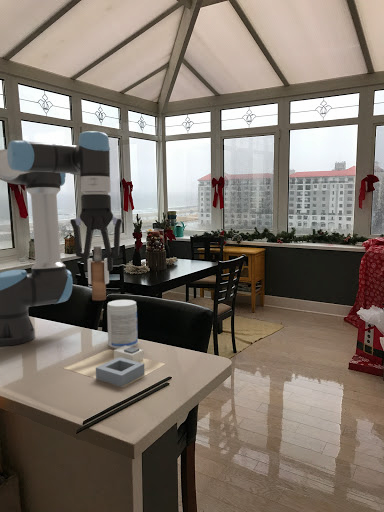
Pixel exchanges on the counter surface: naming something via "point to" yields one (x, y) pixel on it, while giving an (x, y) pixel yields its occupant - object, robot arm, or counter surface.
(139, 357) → the block
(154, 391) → the counter surface
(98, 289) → the awl
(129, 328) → the supplement tub
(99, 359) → the plywood panel
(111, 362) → the socket
